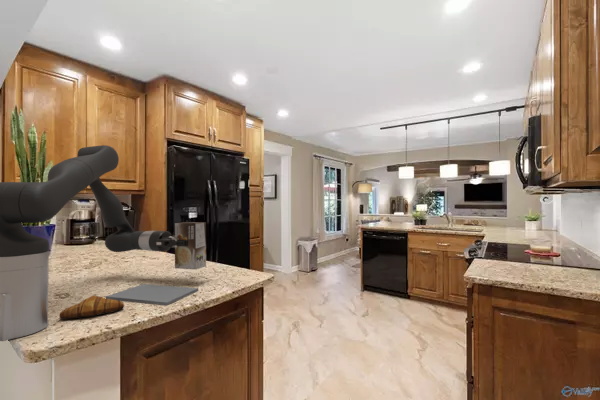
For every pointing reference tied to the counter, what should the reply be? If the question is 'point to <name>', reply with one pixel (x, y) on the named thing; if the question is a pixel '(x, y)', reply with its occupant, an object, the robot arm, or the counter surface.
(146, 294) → the mat
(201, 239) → the coffee box
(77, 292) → the counter surface
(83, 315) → the croissant
